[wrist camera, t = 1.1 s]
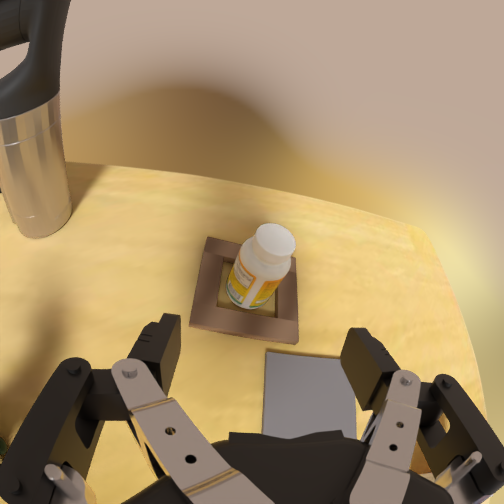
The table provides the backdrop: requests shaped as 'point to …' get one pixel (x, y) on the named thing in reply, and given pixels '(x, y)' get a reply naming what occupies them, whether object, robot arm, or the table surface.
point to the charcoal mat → (306, 397)
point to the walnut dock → (237, 321)
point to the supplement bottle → (260, 266)
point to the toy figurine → (2, 447)
